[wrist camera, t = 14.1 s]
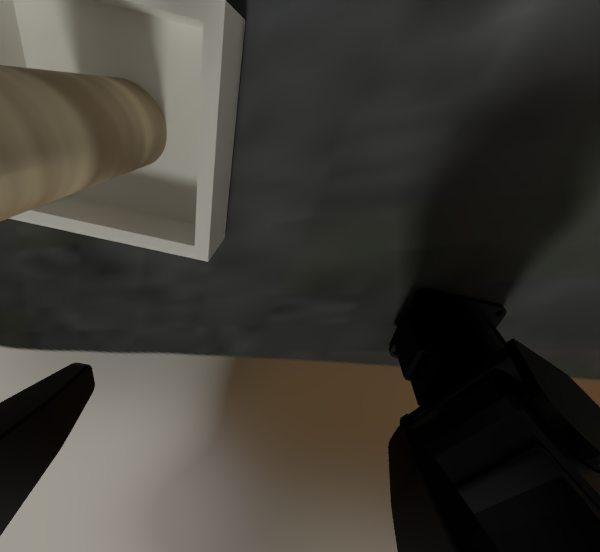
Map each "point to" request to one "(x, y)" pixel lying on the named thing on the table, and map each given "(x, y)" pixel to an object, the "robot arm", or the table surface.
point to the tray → (169, 97)
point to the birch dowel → (70, 134)
